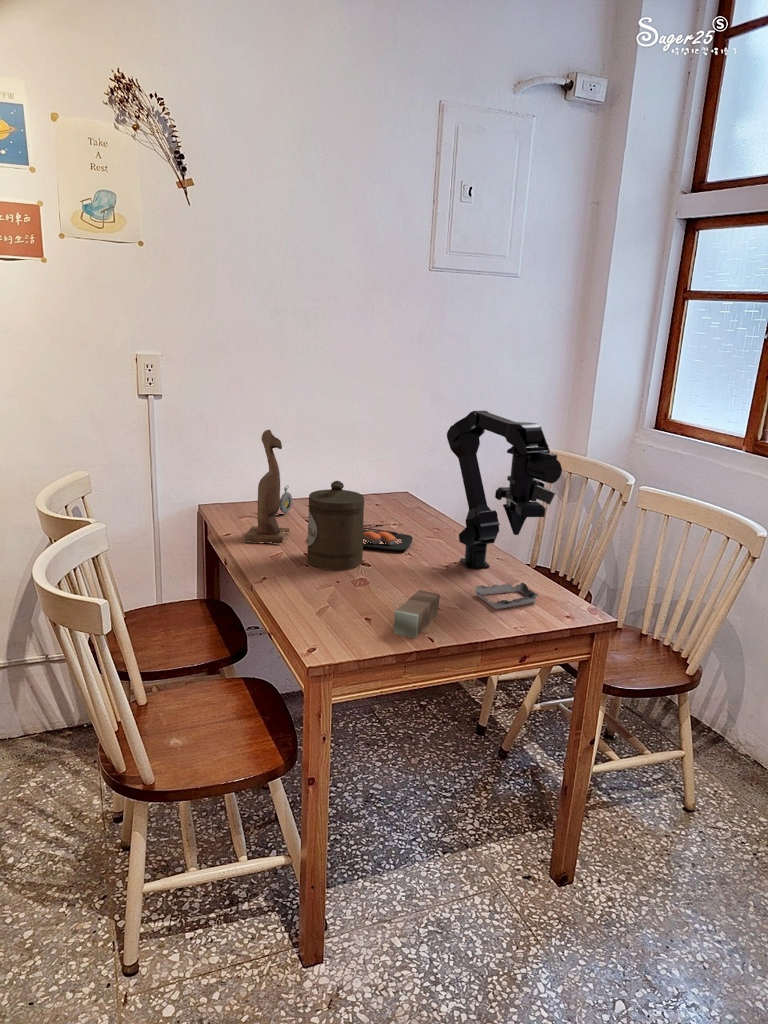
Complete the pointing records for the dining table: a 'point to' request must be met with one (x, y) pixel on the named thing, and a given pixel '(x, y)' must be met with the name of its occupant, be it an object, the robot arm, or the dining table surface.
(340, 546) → the wooden container
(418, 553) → the dining table surface
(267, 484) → the bird sculpture
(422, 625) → the grey-green metal block
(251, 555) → the dining table surface
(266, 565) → the dining table surface
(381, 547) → the sushi plate
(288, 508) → the pocket watch
